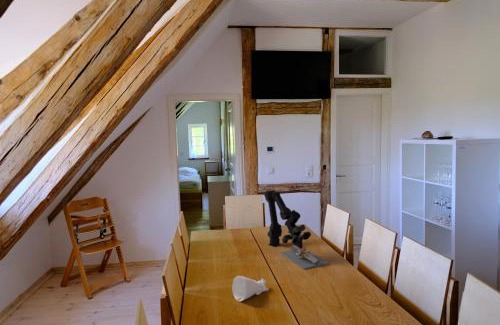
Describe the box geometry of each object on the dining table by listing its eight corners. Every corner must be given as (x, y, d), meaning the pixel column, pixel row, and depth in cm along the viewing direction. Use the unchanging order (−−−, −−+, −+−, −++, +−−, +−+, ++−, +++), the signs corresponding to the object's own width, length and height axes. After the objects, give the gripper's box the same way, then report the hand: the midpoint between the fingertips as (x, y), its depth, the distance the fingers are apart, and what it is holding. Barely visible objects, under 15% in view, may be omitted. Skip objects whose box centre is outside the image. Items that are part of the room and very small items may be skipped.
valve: (289, 251, 216) (289, 244, 216) (297, 250, 218) (297, 243, 218) (311, 266, 192) (311, 258, 192) (320, 264, 195) (320, 256, 194)
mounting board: (281, 253, 215) (281, 252, 215) (303, 249, 222) (304, 247, 222) (304, 269, 189) (304, 267, 189) (329, 264, 196) (329, 262, 196)
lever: (294, 254, 204) (302, 247, 195) (298, 253, 205) (306, 246, 196) (295, 257, 203) (303, 250, 194) (299, 256, 204) (307, 249, 195)
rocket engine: (268, 269, 167) (240, 271, 157) (277, 290, 160) (249, 293, 149) (257, 281, 173) (229, 283, 162) (265, 301, 166) (236, 305, 155)
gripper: (283, 222, 198) (293, 244, 189) (309, 218, 206) (319, 240, 196) (277, 232, 206) (287, 254, 196) (302, 228, 213) (312, 249, 204)
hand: (302, 249), depth 198 cm, fingers closed, pressing on lever
